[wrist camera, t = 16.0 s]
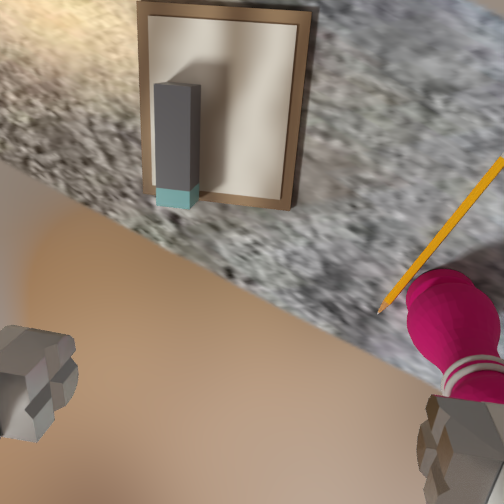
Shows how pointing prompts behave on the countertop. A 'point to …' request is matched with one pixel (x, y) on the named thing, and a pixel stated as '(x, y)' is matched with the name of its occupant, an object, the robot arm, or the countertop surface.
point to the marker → (177, 143)
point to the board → (229, 94)
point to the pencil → (444, 231)
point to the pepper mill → (457, 334)
